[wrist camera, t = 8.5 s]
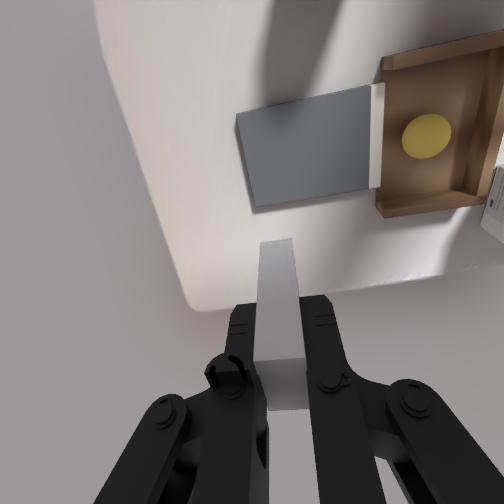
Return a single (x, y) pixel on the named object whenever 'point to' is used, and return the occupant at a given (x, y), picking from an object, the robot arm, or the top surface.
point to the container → (495, 207)
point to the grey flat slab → (314, 145)
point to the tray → (455, 112)
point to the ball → (426, 136)
